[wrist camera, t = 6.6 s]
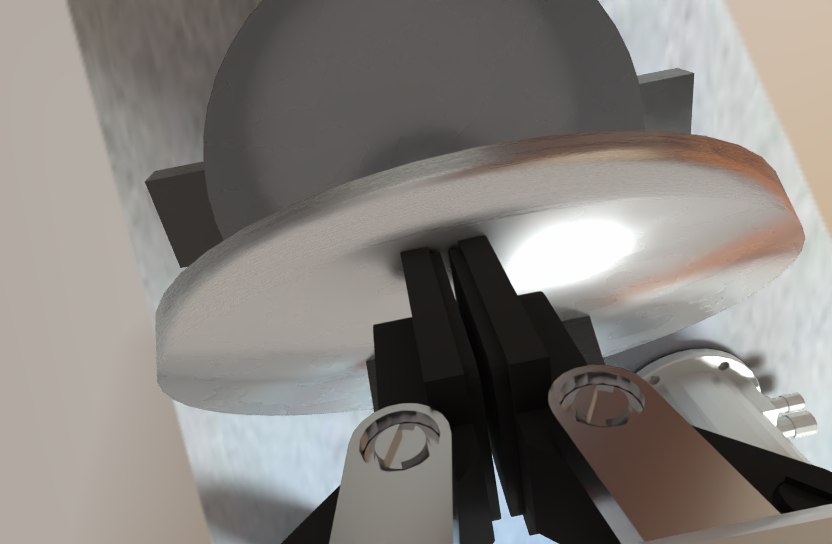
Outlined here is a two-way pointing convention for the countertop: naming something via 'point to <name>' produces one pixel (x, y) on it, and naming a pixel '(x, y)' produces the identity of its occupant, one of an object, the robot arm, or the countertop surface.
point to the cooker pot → (397, 98)
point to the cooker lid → (509, 237)
